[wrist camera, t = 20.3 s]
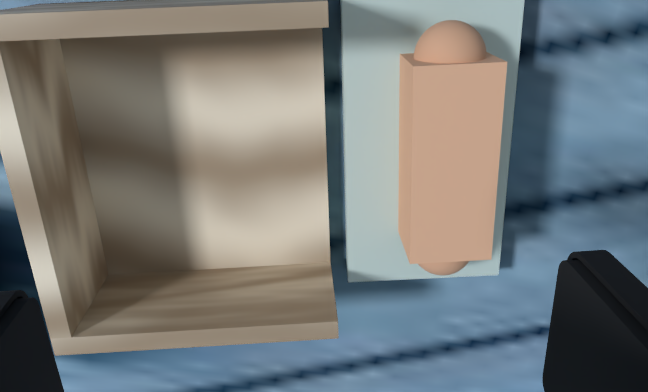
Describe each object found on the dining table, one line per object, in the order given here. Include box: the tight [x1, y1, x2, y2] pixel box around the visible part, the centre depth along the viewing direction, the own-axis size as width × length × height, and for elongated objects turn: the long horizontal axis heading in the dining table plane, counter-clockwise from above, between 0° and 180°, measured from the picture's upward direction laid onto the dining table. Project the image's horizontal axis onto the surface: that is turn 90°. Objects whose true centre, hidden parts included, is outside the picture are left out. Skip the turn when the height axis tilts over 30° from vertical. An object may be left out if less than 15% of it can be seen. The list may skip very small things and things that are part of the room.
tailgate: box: [340, 0, 524, 282], centre depth 31 cm, size 16×1×9 cm
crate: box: [0, 0, 338, 355], centre depth 28 cm, size 16×14×7 cm
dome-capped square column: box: [398, 20, 507, 275], centre depth 29 cm, size 13×4×4 cm, turn 2°
